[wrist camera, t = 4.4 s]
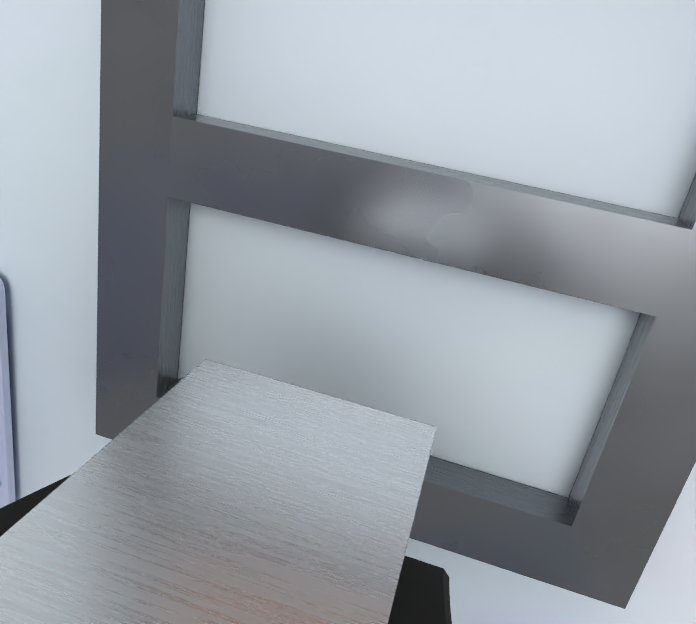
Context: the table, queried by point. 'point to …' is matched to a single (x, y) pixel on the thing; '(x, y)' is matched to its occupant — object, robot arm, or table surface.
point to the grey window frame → (412, 240)
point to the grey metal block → (226, 513)
